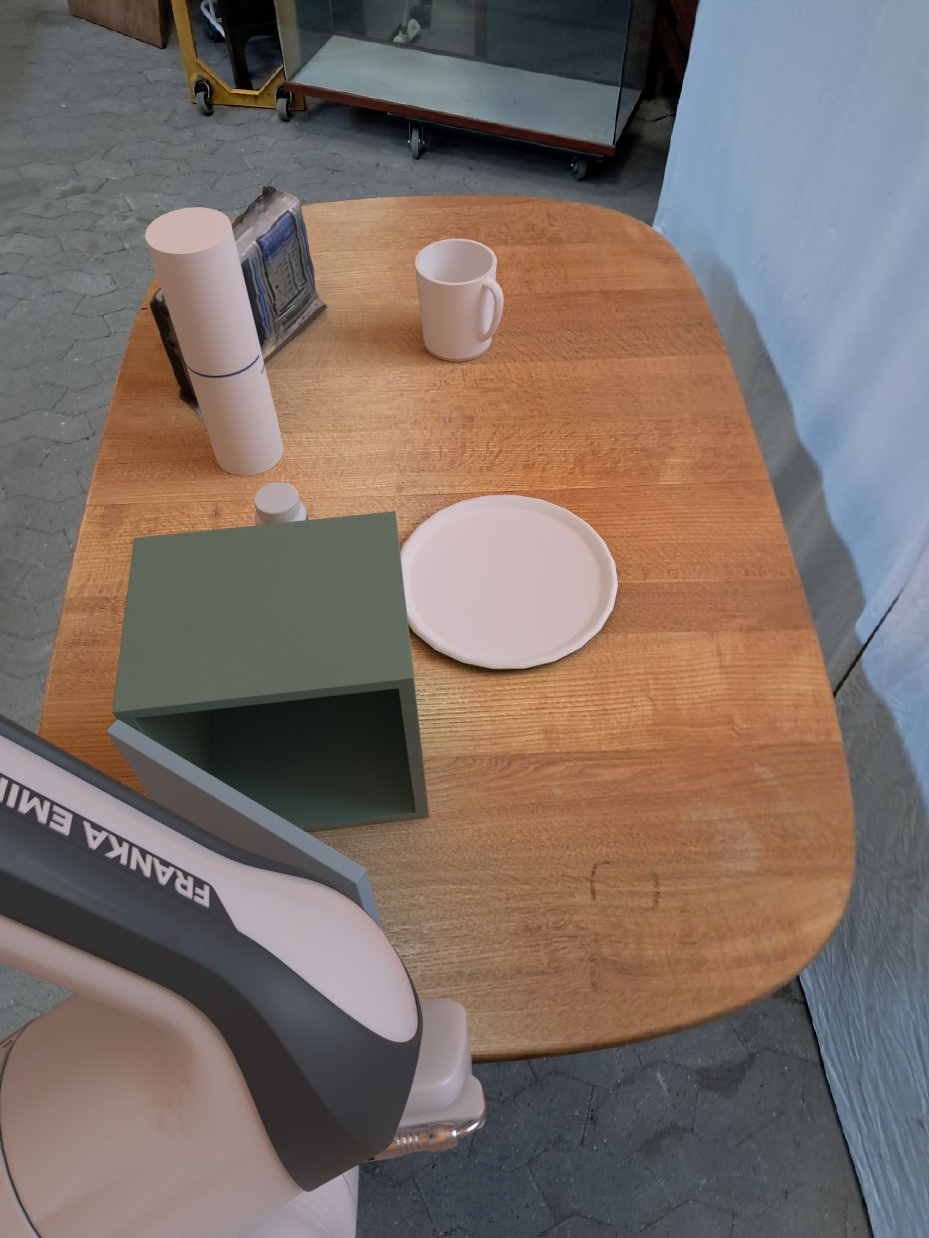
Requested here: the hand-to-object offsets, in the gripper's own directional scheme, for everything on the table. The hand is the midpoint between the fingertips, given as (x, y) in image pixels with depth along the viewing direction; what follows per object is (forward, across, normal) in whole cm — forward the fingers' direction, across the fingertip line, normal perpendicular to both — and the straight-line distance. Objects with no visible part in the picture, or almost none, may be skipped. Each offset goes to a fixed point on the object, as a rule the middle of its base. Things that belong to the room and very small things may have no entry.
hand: (293, 999), depth 54 cm
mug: (+59, -20, -45) cm, 77 cm away
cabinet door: (+11, +3, +2) cm, 12 cm away
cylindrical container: (+48, +5, -35) cm, 60 cm away
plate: (+33, -19, -20) cm, 43 cm away
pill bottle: (+37, +1, -24) cm, 44 cm away
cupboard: (+22, 0, -9) cm, 24 cm away
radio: (+60, +5, -46) cm, 76 cm away
